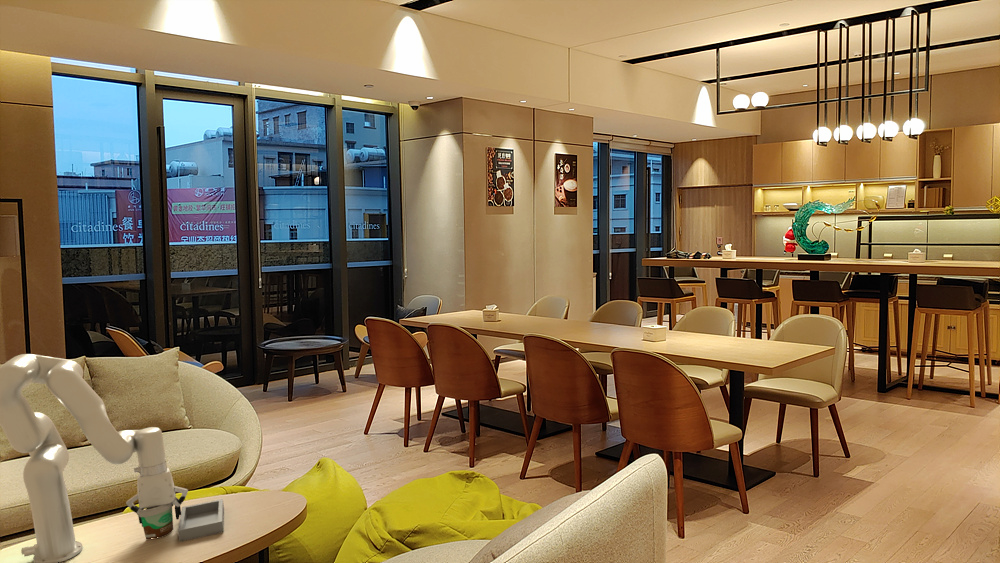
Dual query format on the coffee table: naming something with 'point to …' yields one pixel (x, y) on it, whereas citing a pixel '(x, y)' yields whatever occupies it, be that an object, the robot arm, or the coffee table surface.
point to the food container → (157, 520)
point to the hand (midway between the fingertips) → (161, 521)
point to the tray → (201, 520)
